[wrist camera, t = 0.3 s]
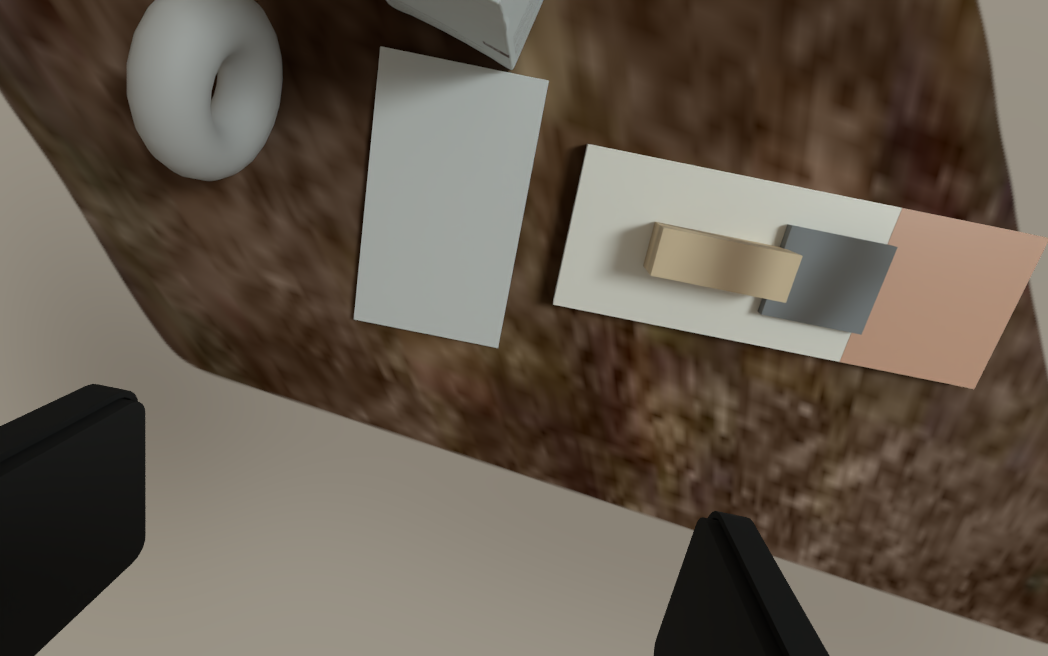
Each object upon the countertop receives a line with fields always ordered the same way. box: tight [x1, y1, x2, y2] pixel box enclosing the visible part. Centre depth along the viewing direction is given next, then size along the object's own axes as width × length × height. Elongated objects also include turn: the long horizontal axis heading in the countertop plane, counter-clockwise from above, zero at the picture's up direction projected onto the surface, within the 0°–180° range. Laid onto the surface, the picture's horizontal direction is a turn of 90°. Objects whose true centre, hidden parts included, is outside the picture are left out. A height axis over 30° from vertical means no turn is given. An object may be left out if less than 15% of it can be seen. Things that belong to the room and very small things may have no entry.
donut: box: [127, 0, 283, 181], centre depth 28 cm, size 10×4×10 cm, turn 160°
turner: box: [643, 222, 898, 335], centre depth 32 cm, size 14×6×3 cm, turn 79°
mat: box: [354, 46, 549, 348], centre depth 34 cm, size 17×10×1 cm, turn 169°
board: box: [553, 144, 1048, 389], centre depth 34 cm, size 10×28×1 cm, turn 79°
